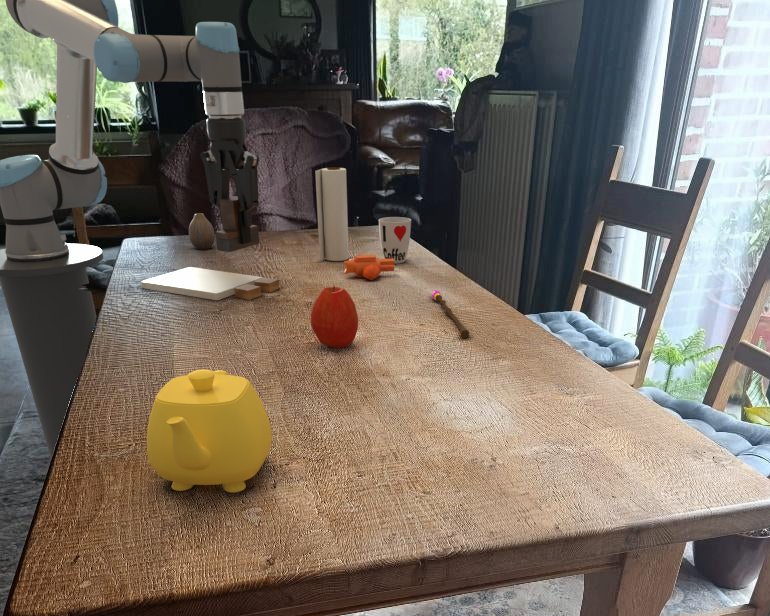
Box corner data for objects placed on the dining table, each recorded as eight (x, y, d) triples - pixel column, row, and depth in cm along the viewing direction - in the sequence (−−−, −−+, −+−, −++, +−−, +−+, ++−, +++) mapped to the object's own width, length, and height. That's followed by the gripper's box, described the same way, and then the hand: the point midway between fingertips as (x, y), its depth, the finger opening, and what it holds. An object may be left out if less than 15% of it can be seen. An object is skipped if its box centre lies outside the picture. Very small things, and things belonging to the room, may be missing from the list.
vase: (206, 251, 193) (201, 216, 188) (185, 249, 195) (180, 215, 190) (221, 246, 198) (217, 212, 193) (201, 244, 200) (196, 211, 196)
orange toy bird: (393, 248, 167) (342, 250, 165) (398, 266, 162) (346, 268, 160) (391, 268, 170) (342, 270, 169) (397, 285, 166) (346, 288, 164)
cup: (376, 264, 178) (375, 222, 173) (382, 257, 185) (381, 216, 180) (408, 265, 177) (408, 223, 172) (412, 258, 184) (413, 217, 179)
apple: (307, 352, 122) (303, 289, 117) (318, 337, 129) (314, 277, 124) (354, 354, 121) (352, 291, 116) (362, 339, 128) (361, 278, 123)
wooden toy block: (217, 250, 150) (211, 200, 144) (246, 241, 157) (242, 194, 152) (230, 252, 148) (224, 202, 143) (259, 243, 156) (255, 195, 150)
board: (142, 288, 160) (140, 281, 159) (190, 273, 172) (189, 266, 171) (217, 300, 151) (216, 293, 150) (263, 283, 163) (262, 277, 162)
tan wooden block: (254, 290, 157) (253, 281, 156) (264, 286, 160) (263, 277, 159) (270, 292, 156) (269, 283, 155) (279, 288, 159) (278, 279, 158)
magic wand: (469, 341, 129) (435, 296, 154) (473, 332, 128) (438, 287, 153) (458, 338, 128) (425, 293, 153) (462, 328, 127) (429, 284, 152)
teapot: (285, 443, 92) (277, 348, 86) (249, 526, 75) (235, 416, 69) (183, 440, 93) (166, 346, 86) (124, 522, 76) (98, 413, 70)
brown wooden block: (235, 297, 153) (234, 287, 152) (248, 293, 156) (247, 284, 155) (248, 300, 151) (247, 290, 150) (261, 295, 154) (260, 286, 153)
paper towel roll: (349, 256, 186) (346, 166, 175) (348, 261, 181) (345, 169, 170) (322, 256, 186) (317, 166, 175) (319, 261, 181) (315, 169, 170)
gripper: (180, 116, 140) (196, 240, 153) (246, 119, 133) (258, 249, 146) (205, 114, 146) (219, 234, 158) (270, 117, 139) (280, 242, 151)
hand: (238, 241), depth 152 cm, fingers closed on wooden toy block, 3 cm apart
